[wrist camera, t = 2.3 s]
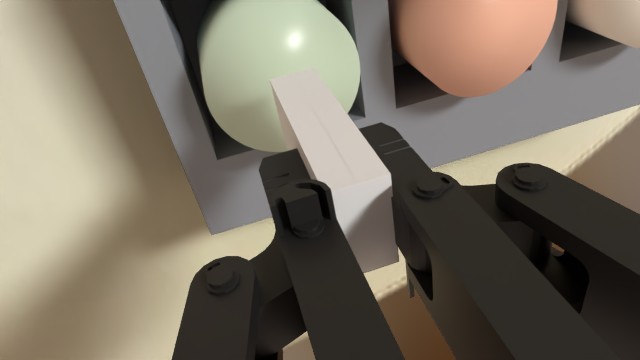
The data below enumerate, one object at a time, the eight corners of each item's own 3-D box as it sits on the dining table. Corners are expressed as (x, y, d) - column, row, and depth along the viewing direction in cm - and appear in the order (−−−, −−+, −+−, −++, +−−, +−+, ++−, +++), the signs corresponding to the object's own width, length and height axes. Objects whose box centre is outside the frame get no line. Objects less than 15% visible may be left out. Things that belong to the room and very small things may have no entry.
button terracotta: (372, -54, 20) (416, -36, 16) (499, -84, 21) (568, -74, 17) (384, 75, 23) (422, 113, 20) (492, 46, 24) (547, 77, 21)
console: (84, -128, 18) (60, -125, 14) (685, -251, 21) (806, -278, 17) (205, 180, 27) (211, 235, 23) (615, 60, 30) (684, 90, 26)
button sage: (177, -7, 19) (178, 23, 15) (317, -40, 20) (350, -19, 16) (220, 121, 22) (229, 169, 19) (337, 88, 23) (367, 129, 20)
